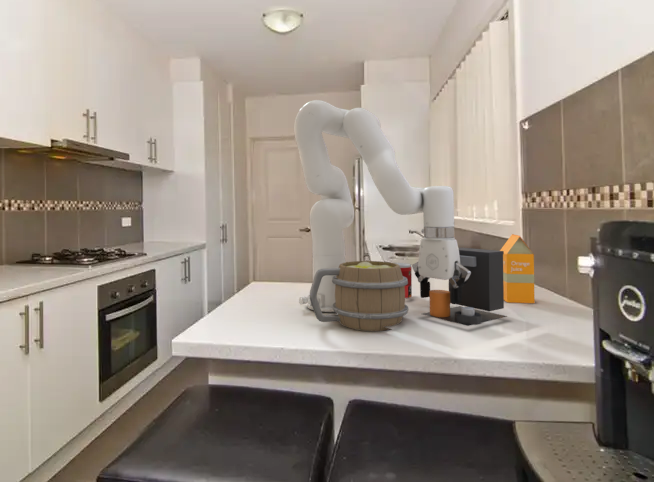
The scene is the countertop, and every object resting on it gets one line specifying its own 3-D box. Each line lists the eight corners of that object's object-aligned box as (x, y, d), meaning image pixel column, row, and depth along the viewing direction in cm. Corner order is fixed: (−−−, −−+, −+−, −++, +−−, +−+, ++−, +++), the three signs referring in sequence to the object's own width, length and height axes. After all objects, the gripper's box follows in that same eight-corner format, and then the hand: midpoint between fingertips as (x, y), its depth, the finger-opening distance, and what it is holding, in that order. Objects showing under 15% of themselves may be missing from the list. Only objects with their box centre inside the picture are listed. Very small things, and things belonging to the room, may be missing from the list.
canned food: (414, 301, 138) (414, 265, 138) (388, 301, 138) (388, 265, 138) (407, 296, 146) (407, 262, 146) (383, 296, 146) (382, 262, 146)
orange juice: (506, 302, 136) (505, 235, 136) (499, 296, 144) (498, 233, 145) (535, 303, 134) (534, 235, 134) (526, 297, 143) (525, 233, 143)
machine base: (469, 331, 106) (469, 318, 106) (420, 318, 118) (420, 306, 118) (509, 321, 114) (509, 309, 114) (459, 310, 126) (459, 299, 126)
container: (441, 318, 113) (441, 294, 113) (425, 314, 117) (425, 291, 118) (454, 315, 116) (454, 292, 116) (438, 311, 120) (438, 289, 120)
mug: (303, 316, 121) (302, 260, 121) (391, 312, 124) (391, 258, 124) (317, 336, 102) (317, 270, 102) (421, 331, 105) (420, 267, 106)
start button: (469, 317, 108) (469, 310, 108) (458, 314, 111) (458, 307, 111) (477, 315, 110) (477, 308, 110) (466, 313, 112) (466, 306, 112)
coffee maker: (486, 312, 111) (485, 253, 111) (444, 303, 122) (444, 249, 122) (504, 308, 115) (503, 251, 115) (462, 300, 126) (462, 247, 126)
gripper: (403, 233, 122) (404, 296, 122) (458, 236, 107) (460, 308, 107) (422, 231, 126) (423, 293, 126) (478, 234, 111) (479, 304, 111)
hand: (440, 300), depth 117 cm, fingers open, 9 cm apart
